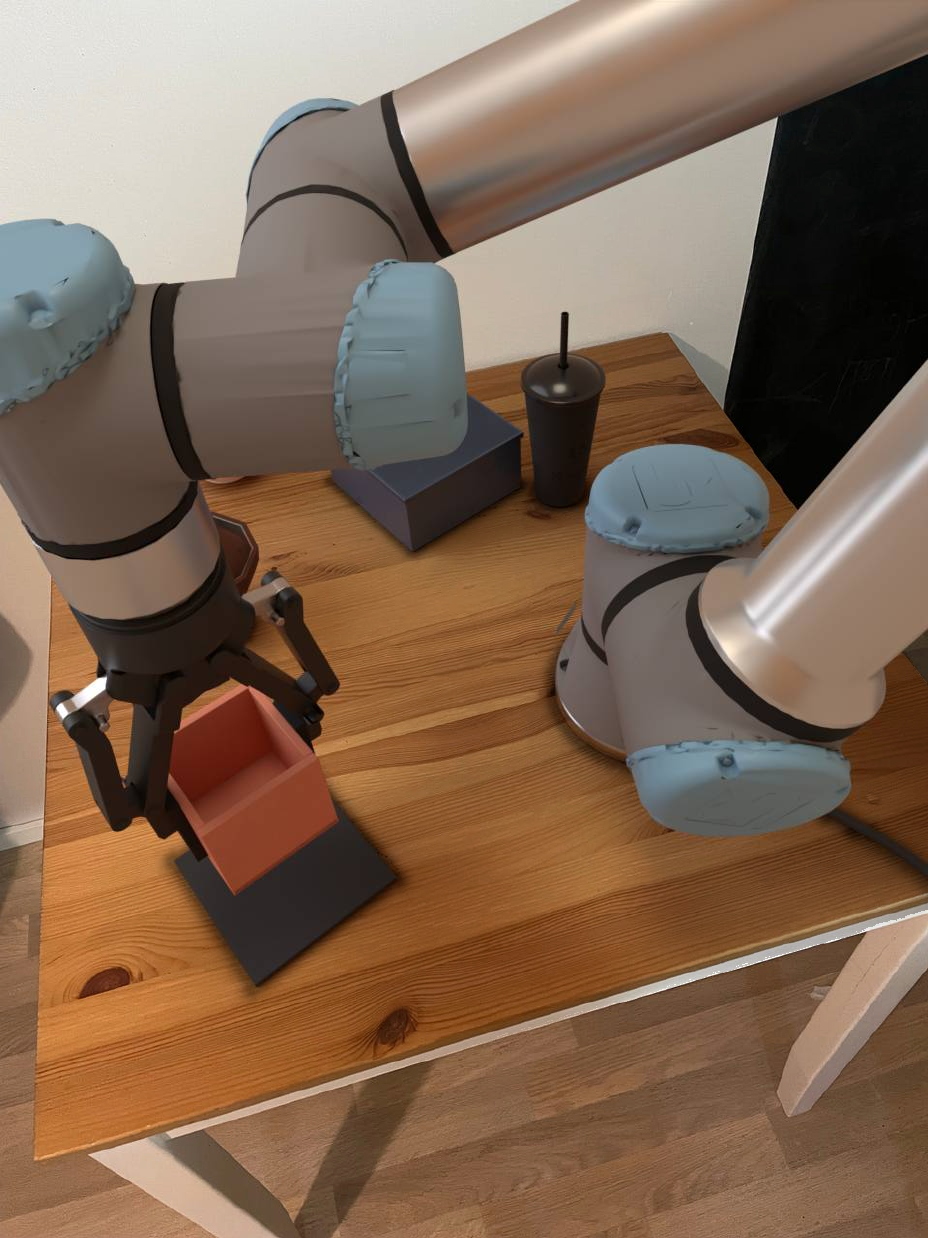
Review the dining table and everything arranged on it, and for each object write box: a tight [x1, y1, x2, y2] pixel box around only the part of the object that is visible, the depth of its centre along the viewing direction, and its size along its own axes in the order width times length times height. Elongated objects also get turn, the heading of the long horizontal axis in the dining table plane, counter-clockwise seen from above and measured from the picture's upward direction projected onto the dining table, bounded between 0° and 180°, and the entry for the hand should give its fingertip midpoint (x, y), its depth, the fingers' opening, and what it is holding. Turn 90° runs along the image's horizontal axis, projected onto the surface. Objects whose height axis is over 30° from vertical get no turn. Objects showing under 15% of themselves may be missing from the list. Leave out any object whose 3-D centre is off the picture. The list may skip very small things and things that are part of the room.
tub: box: [167, 683, 338, 895], centre depth 59 cm, size 8×8×8 cm
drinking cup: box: [519, 311, 607, 508], centre depth 86 cm, size 8×8×20 cm
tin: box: [329, 392, 525, 553], centre depth 93 cm, size 14×14×7 cm
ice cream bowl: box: [210, 511, 260, 594], centre depth 78 cm, size 11×11×15 cm
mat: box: [173, 797, 398, 987], centre depth 68 cm, size 12×12×1 cm
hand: (251, 804), depth 61 cm, fingers closed on tub, 8 cm apart
